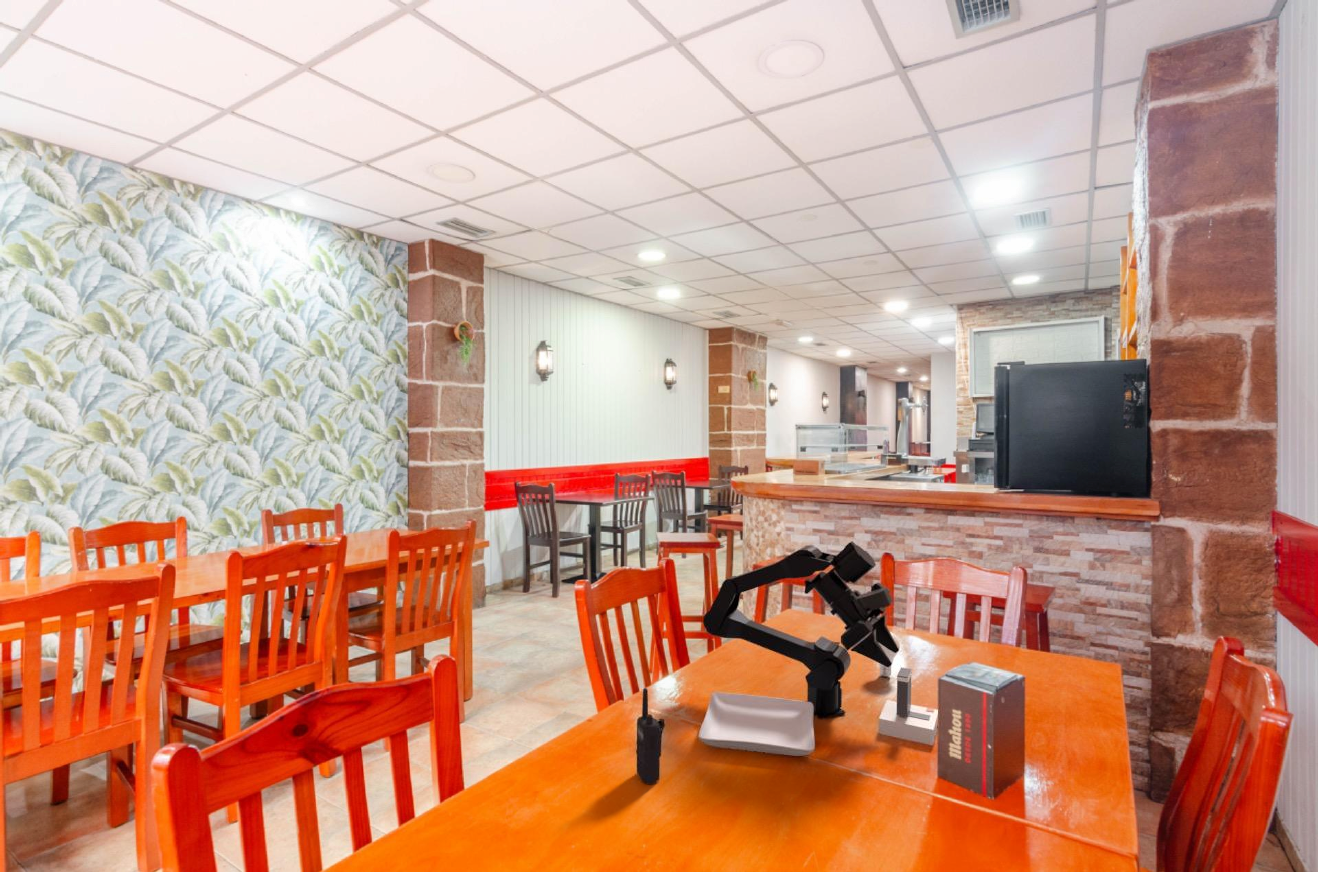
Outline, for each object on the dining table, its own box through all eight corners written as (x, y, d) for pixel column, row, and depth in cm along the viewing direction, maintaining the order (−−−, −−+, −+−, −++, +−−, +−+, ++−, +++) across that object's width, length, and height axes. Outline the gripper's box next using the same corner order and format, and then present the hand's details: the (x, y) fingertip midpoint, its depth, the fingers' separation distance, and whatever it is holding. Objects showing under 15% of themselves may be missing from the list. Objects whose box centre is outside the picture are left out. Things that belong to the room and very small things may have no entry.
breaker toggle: (896, 714, 132) (896, 675, 132) (900, 705, 137) (900, 667, 137) (907, 716, 131) (908, 677, 131) (911, 707, 136) (911, 668, 136)
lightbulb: (895, 672, 164) (896, 627, 164) (902, 682, 158) (903, 635, 158) (868, 670, 165) (869, 626, 164) (874, 680, 158) (875, 634, 158)
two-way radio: (633, 771, 116) (634, 685, 116) (657, 766, 118) (658, 682, 117) (644, 787, 111) (645, 697, 111) (669, 782, 113) (670, 694, 112)
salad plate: (815, 767, 119) (815, 748, 119) (696, 754, 123) (696, 735, 123) (813, 716, 140) (813, 700, 139) (711, 706, 144) (712, 690, 144)
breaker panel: (878, 733, 131) (878, 717, 131) (886, 713, 140) (887, 699, 140) (933, 745, 127) (933, 729, 127) (938, 724, 136) (938, 709, 136)
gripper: (858, 582, 129) (918, 648, 124) (876, 564, 145) (930, 622, 140) (817, 616, 132) (874, 682, 128) (838, 595, 149) (890, 653, 144)
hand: (893, 658), depth 135 cm, fingers open, 9 cm apart
